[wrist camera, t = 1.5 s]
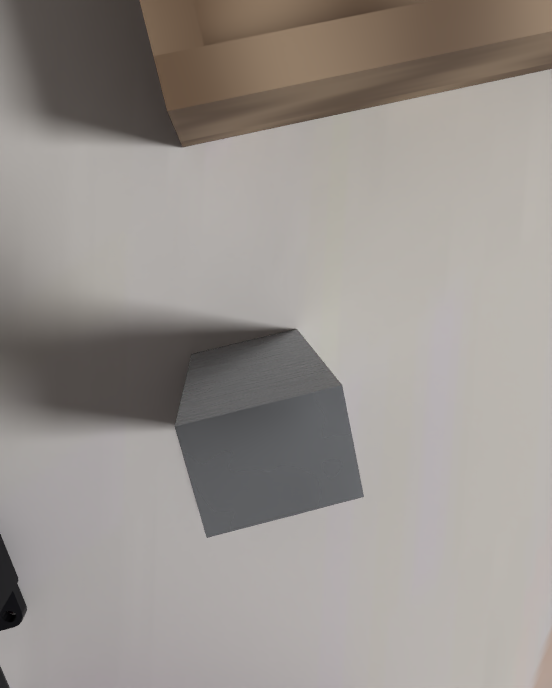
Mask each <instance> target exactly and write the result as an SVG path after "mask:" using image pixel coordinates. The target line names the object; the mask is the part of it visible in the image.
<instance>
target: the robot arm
mask: <svg viewBox="0 0 552 688" xmlns="http://www.w3.org/2000/svg"><path fill="white" fill-rule="evenodd" d="M17 582H18V576H17V574H16V572H15V569H14V567H13V564H12V562H11V559H10V557H9V554H8V552H7V549H6V547H5V544H4V542H3V539H2V537H1V534H0V631H1V630H5V629H9V628H13V627H15V626H17V625H19V624H20V623H21V622H22V620H23V618H24V616H25V614H26V611H27V607H26V604H25V601H24V599H23V596H22V594H21V591H20V589H19V587H18V584H17ZM7 611H12V612H14V613H15V614H13V615H12V614H10V613H8V612H7ZM0 688H10V687H9V685H8V683H7V680H6V678H5V676H4V674H3V671H2V669H1V667H0Z"/></svg>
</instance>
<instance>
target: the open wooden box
mask: <svg viewBox="0 0 552 688" xmlns="http://www.w3.org/2000/svg"><path fill="white" fill-rule="evenodd" d="M139 1H140V5H141V9H142V13H143V17H144V21H145V25H146V29H147V33H148V37H149V41H150V45H151V49H152V53H153V57H154V61H155V65H156V69H157V73H158V77H159V81H160V85H161V89H162V93H163V97H164V101H165V105H166V109H167V112H168V114H169V117H170V119H171V121H172V124H173V126H174V128H175V131H176V133H177V135H178V138H179V140H180V142H181V145H182V147H186V146H191V145H196V144H200V143H205V142H210V141H214V140H219V139H224V138H229V137H233V136H238V135H243V134H247V133H252V132H257V131H261V130H266V129H271V128H275V127H280V126H285V125H290V124H294V123H299V122H304V121H308V120H313V119H318V118H322V117H327V116H332V115H337V114H341V113H346V112H351V111H355V110H360V109H365V108H369V107H374V106H379V105H383V104H388V103H393V102H398V101H402V100H407V99H412V98H416V97H421V96H426V95H430V94H435V93H440V92H444V91H449V90H454V89H459V88H463V87H468V86H473V85H477V84H482V83H487V82H491V81H496V80H501V79H505V78H510V77H515V76H520V75H524V74H529V73H534V72H538V71H543V70H548V69H552V0H139Z"/></svg>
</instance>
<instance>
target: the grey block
mask: <svg viewBox="0 0 552 688" xmlns="http://www.w3.org/2000/svg"><path fill="white" fill-rule="evenodd" d="M175 429H176V433H177V436H178V439H179V443H180V446H181V450H182V453H183V457H184V460H185V464H186V467H187V471H188V474H189V478H190V481H191V485H192V488H193V492H194V495H195V498H196V502H197V505H198V509H199V512H200V516H201V519H202V523H203V526H204V530H205V533H206V537H207V538H208V537H212V536H216V535H219V534H223V533H227V532H231V531H235V530H238V529H242V528H246V527H250V526H254V525H258V524H261V523H265V522H269V521H273V520H277V519H281V518H284V517H288V516H292V515H296V514H300V513H304V512H307V511H311V510H315V509H319V508H323V507H327V506H330V505H334V504H338V503H342V502H346V501H349V500H353V499H357V498H361V497H364V495H363V490H362V485H361V480H360V475H359V469H358V464H357V459H356V454H355V449H354V444H353V439H352V434H351V428H350V423H349V418H348V413H347V408H346V403H345V398H344V393H343V387H342V384H341V383H340V382H339V381H338V379H337V378H336V377H335V376H334V375H333V373H332V372H331V371H330V370H329V368H328V367H327V366H326V365H325V363H324V362H323V361H322V360H321V358H320V357H319V356H318V355H317V353H316V352H315V351H314V350H313V348H312V347H311V346H310V345H309V344H308V342H307V341H306V340H305V339H304V337H303V336H302V335H301V334H300V332H299V331H298V330H297V329H295V330H291V331H287V332H282V333H278V334H274V335H270V336H266V337H261V338H257V339H253V340H249V341H245V342H241V343H236V344H232V345H228V346H224V347H220V348H215V349H211V350H207V351H203V352H199V353H194V354H192V355H191V359H190V364H189V368H188V372H187V376H186V381H185V385H184V389H183V393H182V398H181V402H180V406H179V410H178V415H177V419H176V423H175Z"/></svg>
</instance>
